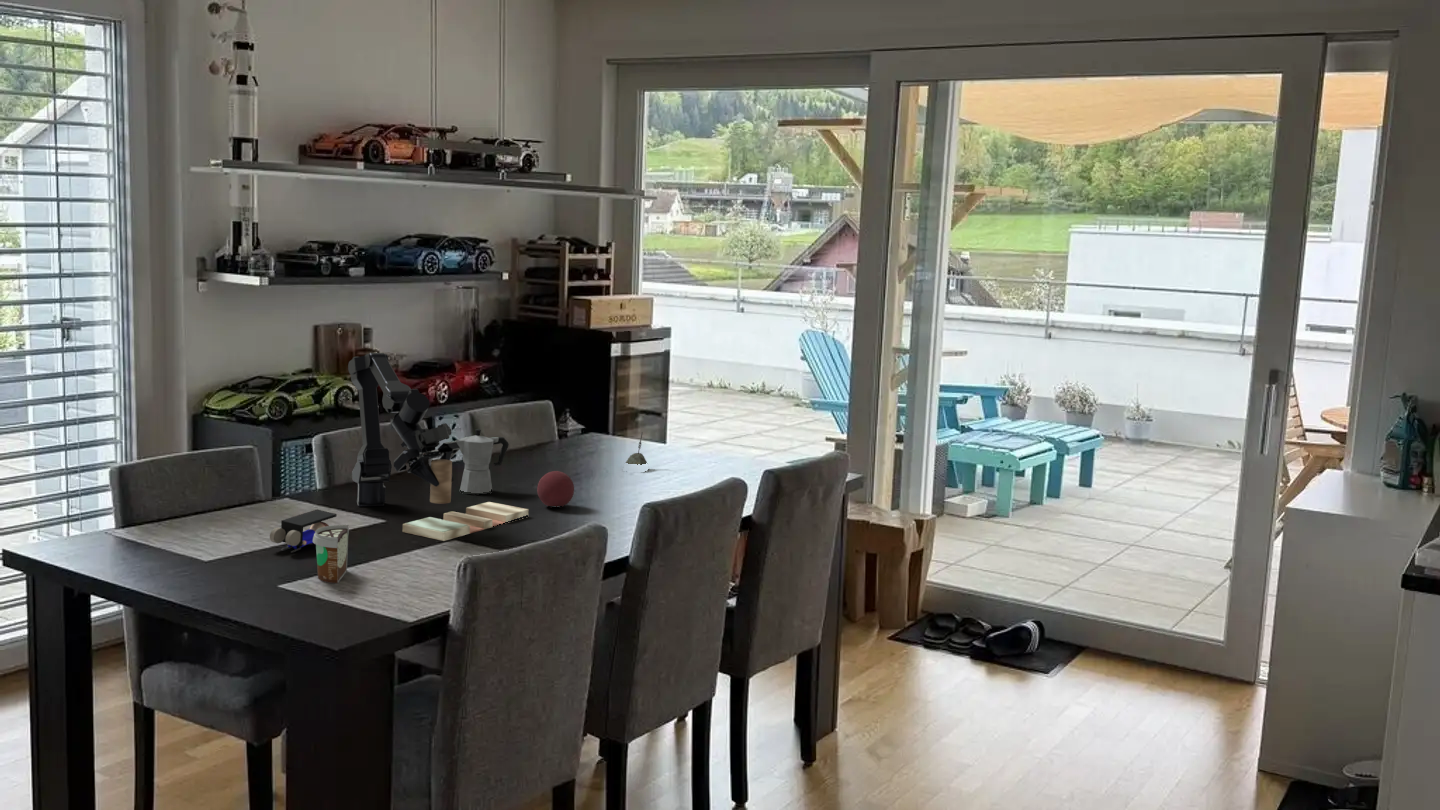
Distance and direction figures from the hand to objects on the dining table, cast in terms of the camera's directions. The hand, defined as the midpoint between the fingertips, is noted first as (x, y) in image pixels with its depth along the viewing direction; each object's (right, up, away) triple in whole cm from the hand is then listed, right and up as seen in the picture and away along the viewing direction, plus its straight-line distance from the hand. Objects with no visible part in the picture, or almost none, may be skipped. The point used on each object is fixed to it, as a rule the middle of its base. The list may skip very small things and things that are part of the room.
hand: (445, 483), depth 312 cm
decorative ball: (+22, -9, +36) cm, 43 cm away
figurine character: (-28, -14, -18) cm, 36 cm away
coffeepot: (-1, -6, +49) cm, 50 cm away
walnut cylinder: (-1, -4, +1) cm, 5 cm away
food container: (-16, -17, -40) cm, 47 cm away
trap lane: (+3, -11, +12) cm, 16 cm away
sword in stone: (+41, -2, +94) cm, 102 cm away
